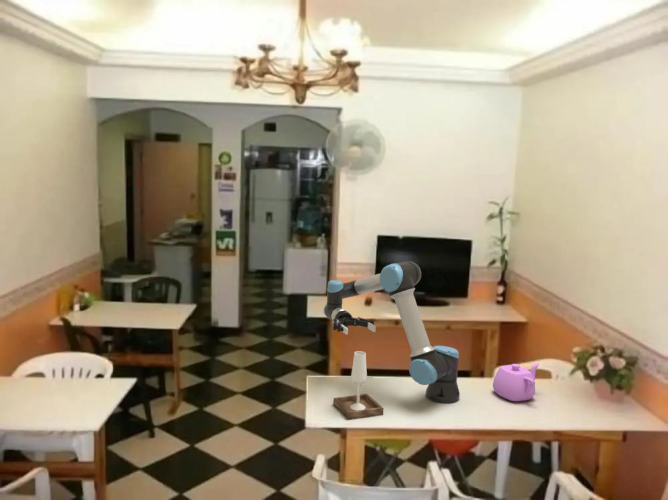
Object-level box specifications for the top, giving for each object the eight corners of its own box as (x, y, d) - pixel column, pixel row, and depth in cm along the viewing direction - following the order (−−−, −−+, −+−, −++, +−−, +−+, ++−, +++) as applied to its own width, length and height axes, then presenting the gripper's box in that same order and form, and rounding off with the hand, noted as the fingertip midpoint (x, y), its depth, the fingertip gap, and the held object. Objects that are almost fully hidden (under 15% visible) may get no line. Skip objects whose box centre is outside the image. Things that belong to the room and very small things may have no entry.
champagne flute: (348, 409, 258) (350, 354, 254) (351, 403, 265) (353, 349, 261) (364, 411, 257) (366, 356, 253) (366, 404, 263) (369, 351, 260)
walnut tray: (366, 400, 271) (366, 393, 271) (383, 414, 257) (383, 408, 256) (333, 404, 265) (333, 397, 264) (348, 419, 250) (348, 413, 250)
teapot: (517, 409, 268) (520, 376, 266) (486, 391, 287) (489, 360, 285) (556, 402, 278) (559, 370, 275) (524, 385, 297) (527, 355, 294)
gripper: (365, 323, 297) (385, 336, 278) (317, 327, 287) (335, 341, 268) (366, 308, 296) (386, 320, 276) (317, 311, 286) (335, 324, 267)
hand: (361, 330), depth 272 cm, fingers open, 13 cm apart
